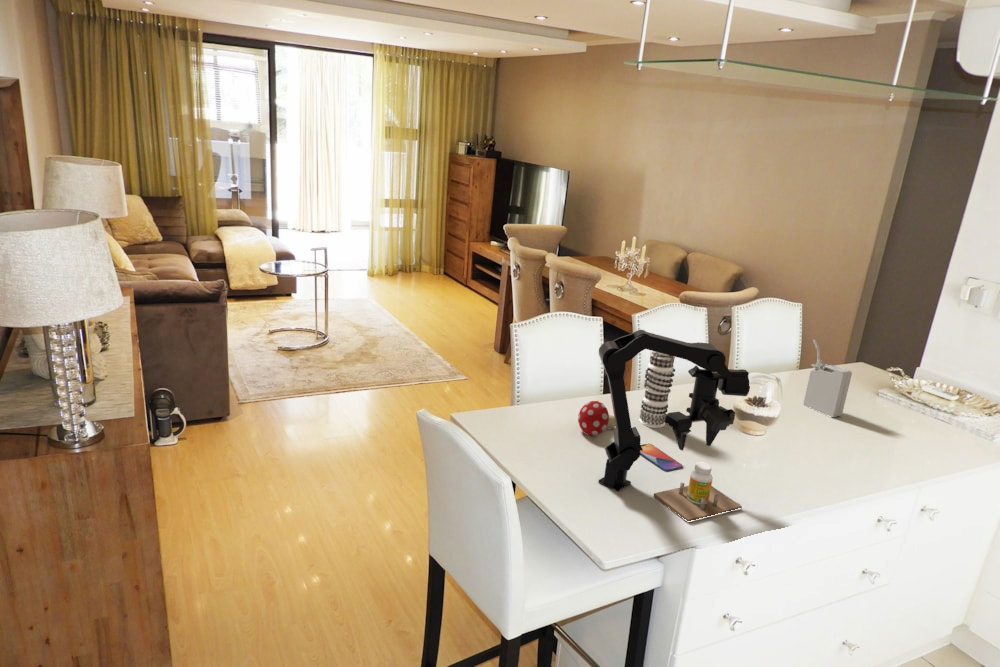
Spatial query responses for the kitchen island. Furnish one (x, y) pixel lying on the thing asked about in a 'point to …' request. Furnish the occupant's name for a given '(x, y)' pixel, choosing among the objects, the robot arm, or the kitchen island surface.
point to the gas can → (827, 387)
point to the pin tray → (692, 511)
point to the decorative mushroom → (595, 418)
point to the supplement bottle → (700, 483)
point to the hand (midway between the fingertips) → (694, 447)
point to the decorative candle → (657, 390)
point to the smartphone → (659, 458)
